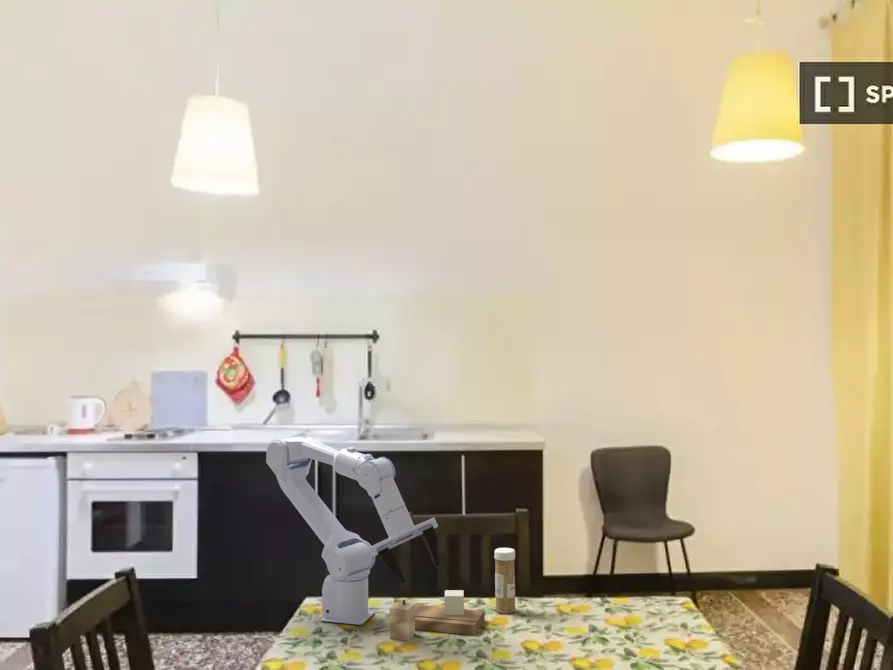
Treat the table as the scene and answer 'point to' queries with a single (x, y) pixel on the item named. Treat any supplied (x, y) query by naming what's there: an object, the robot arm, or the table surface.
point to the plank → (448, 620)
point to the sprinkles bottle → (504, 580)
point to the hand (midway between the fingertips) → (420, 574)
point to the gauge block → (402, 620)
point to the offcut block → (454, 602)
